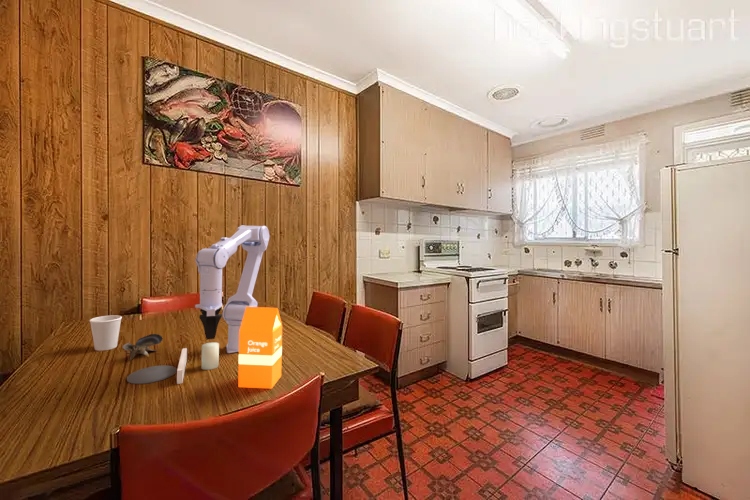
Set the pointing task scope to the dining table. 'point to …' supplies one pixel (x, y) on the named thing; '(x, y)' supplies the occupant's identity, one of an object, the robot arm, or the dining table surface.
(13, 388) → the dining table surface
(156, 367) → the rubber mat
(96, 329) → the dixie cup
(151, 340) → the eagle figurine
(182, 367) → the divider wall
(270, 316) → the orange juice
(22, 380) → the dining table surface
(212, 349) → the sage cylinder
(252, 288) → the robot arm
